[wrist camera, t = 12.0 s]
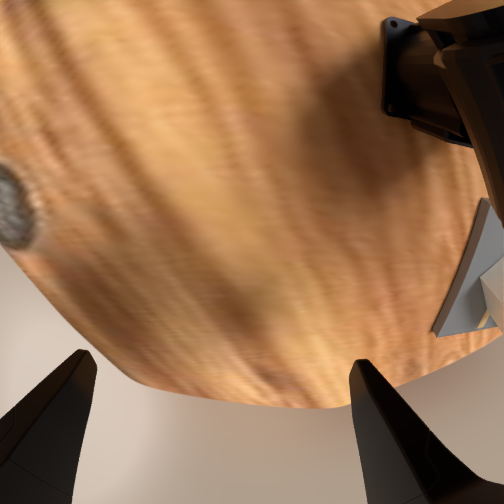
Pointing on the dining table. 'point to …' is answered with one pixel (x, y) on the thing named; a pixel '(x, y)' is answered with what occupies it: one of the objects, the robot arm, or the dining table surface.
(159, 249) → the dining table surface
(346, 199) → the dining table surface
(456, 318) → the grey slotted slab
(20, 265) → the dining table surface
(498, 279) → the cream rectangular block
